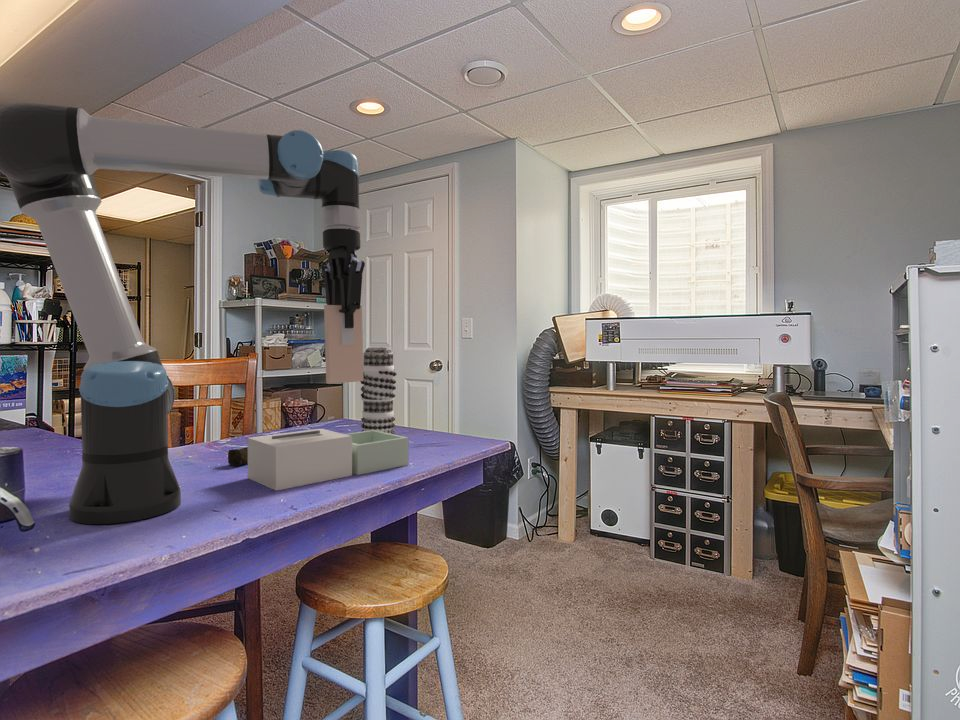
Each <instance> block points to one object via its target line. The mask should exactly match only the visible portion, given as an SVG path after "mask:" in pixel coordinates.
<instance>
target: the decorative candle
mask: <svg viewBox="0 0 960 720" xmlns="http://www.w3.org/2000/svg"><path fill="white" fill-rule="evenodd" d="M397 374H398V373H397V372H395V365H394V353H393V352H392V350H391V349H390V348H389V347H367V348H366V349H365V351H364V352H363V380H364V381H359V382H360V384H361V385H362V386H361V387H360V390H361V394H360V397H361V401H363V410H362V418H361V419H360V421H361V422H363V423H362V424H361V428H363V429H362V430H361V431H360V432H363V431H370V430H376V431H381V432H385V433H390V434H394V435H396V430H395V429H394V428H395V427H396V424H395V423H394V421H396V418H395V417H394V416H395V415H394V413H395V411H394V400H396V394H394V393H393V392H394V391H395V390H396V388H397V387H396V386H395V384H396V383H397V380H395V379H394V378H393V377H396V376H397Z"/></svg>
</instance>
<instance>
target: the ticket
mask: <svg viewBox="0 0 960 720" xmlns="http://www.w3.org/2000/svg"><path fill="white" fill-rule="evenodd" d="M362 307H363V306H362V305H360V309H356V310H355V312H354V327H353V330H354V344H349V345H341V341H340V313H342V312H339V310H341V309H342V305H327V304H324V305H323V309H324V310H323V312H324V313H323V314H324V315H323V316H324V318H323V319H324V351H325V352H324V354H325V383H326V384H328V385H331V384H332V385H333V384H344V383H354V382H355V383H356V382H360V381H364V380H363V372H364V371H363V358H364V356H363V355H364V354H363V353H364V352H363V351H364V349H363V348H364V345H363V342H364V341H363V337H364V336H363V308H362Z"/></svg>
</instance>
